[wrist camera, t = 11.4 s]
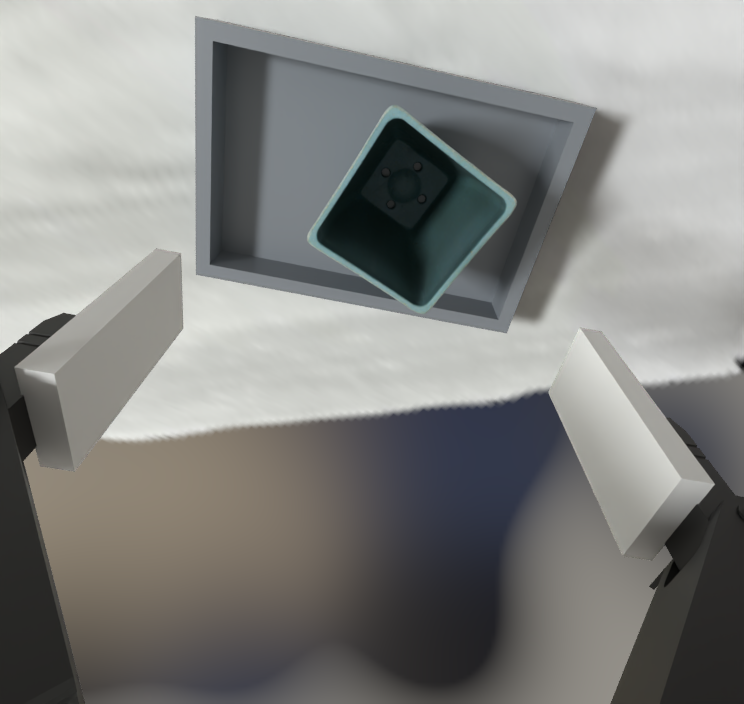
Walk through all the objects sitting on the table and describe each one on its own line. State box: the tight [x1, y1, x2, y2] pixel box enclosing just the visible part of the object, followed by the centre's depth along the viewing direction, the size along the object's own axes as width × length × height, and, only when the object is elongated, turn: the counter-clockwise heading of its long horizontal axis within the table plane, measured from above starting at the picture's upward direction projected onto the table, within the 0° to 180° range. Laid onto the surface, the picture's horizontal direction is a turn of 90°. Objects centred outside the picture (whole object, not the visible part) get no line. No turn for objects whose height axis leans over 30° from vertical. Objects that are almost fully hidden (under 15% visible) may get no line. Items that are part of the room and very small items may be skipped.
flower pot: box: [307, 105, 517, 314], centre depth 31 cm, size 9×9×9 cm
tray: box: [195, 16, 597, 333], centre depth 34 cm, size 24×16×4 cm, turn 79°
